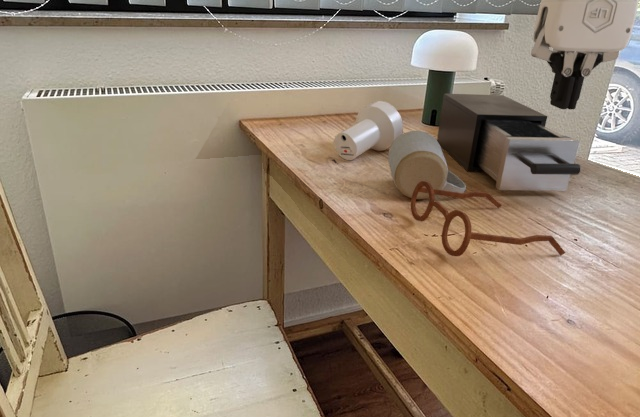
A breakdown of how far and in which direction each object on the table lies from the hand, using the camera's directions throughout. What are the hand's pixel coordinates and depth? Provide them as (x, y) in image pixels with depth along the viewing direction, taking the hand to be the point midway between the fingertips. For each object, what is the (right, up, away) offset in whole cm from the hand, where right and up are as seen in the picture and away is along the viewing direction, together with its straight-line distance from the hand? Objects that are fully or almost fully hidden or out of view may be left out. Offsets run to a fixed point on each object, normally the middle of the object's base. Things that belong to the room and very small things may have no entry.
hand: (562, 106), depth 63 cm
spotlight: (-23, -4, +21) cm, 31 cm away
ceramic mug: (-17, -11, +6) cm, 21 cm away
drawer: (-2, -8, +10) cm, 13 cm away
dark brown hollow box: (-3, -4, +22) cm, 22 cm away
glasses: (-12, -16, -6) cm, 21 cm away
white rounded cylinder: (+9, -5, +21) cm, 24 cm away
